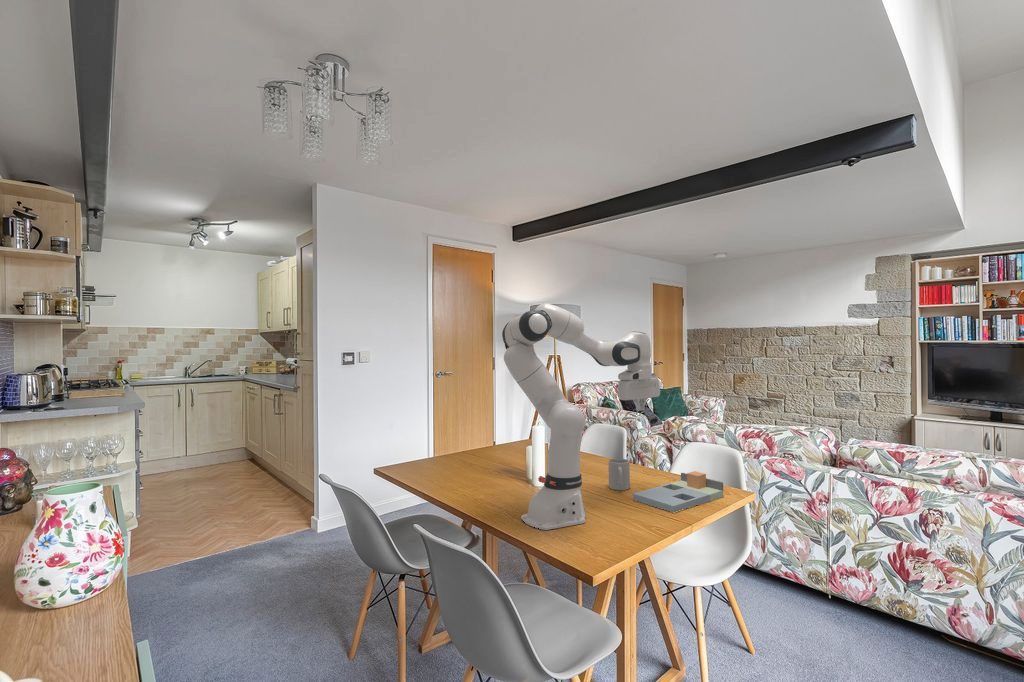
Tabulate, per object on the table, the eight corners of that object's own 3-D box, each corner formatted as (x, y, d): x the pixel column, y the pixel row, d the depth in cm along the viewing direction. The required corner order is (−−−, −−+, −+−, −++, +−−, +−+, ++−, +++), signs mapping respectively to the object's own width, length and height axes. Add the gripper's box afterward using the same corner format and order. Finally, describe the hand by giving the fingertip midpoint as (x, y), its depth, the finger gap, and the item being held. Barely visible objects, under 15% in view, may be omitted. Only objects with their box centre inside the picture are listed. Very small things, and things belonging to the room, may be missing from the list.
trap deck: (673, 513, 164) (673, 497, 164) (632, 500, 179) (632, 485, 179) (723, 496, 181) (723, 482, 181) (682, 486, 196) (682, 472, 196)
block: (698, 489, 183) (698, 475, 183) (687, 486, 187) (686, 473, 187) (706, 486, 186) (705, 473, 186) (694, 483, 190) (694, 471, 190)
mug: (607, 484, 200) (607, 458, 200) (628, 484, 199) (628, 458, 199) (610, 493, 188) (609, 465, 188) (632, 493, 187) (631, 465, 187)
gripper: (650, 372, 191) (651, 407, 191) (614, 375, 179) (615, 412, 179) (663, 373, 186) (664, 408, 186) (627, 375, 174) (628, 413, 174)
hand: (640, 410), depth 182 cm, fingers closed
